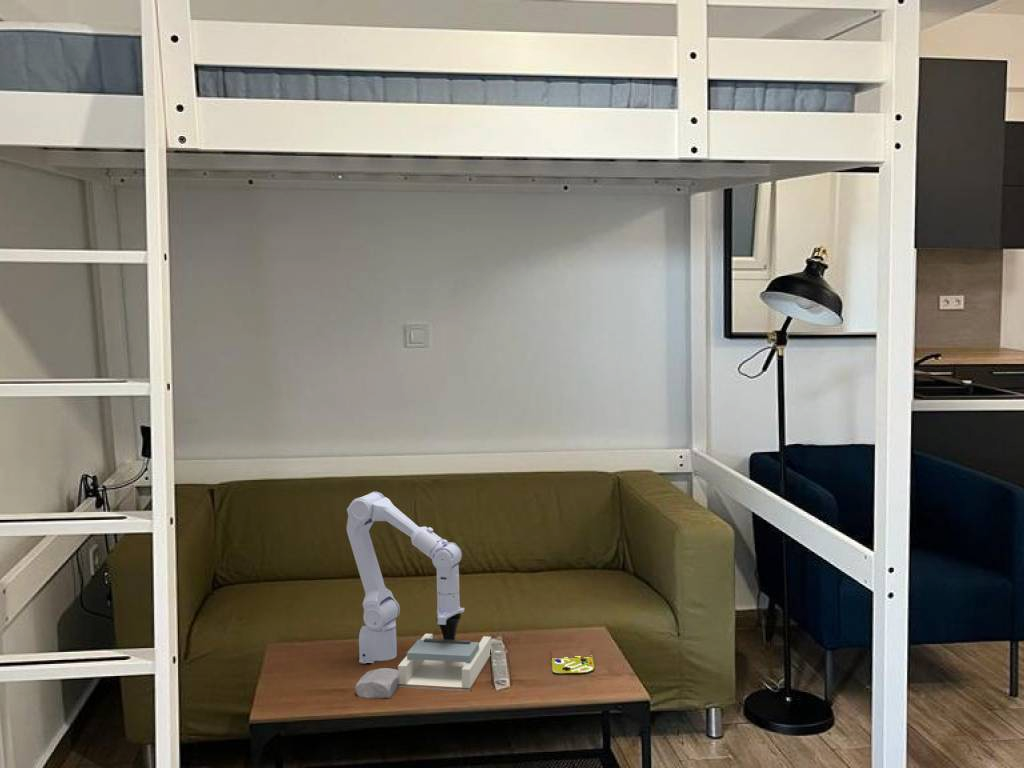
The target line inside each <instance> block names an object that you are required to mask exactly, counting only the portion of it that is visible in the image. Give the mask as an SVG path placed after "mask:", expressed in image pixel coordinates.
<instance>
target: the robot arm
mask: <svg viewBox="0 0 1024 768" xmlns="http://www.w3.org/2000/svg"><path fill="white" fill-rule="evenodd" d="M346 512H347V522H346V533H347V536H348V540H349V543H350V547H351V550H352V553H353V556H354V560H355V563H356V566H357V570H358V573H359V577H360V580H361V584H362V586H363V590H364V594H365V596H364V598H363V602H362V607H363V616H362V617H363V622H364V624H365V625H363V626H361V628H360V631H359V635H358V648H359V649H358V651H359V654H358V655H359V660H358V663H359V662H361V663H360V664H366V663H372V664H374V663H375V661H376V662H385V661H390V660H393V659H395V658H396V657H397V655H398V652H397V651H398V650H397V646H398V645H397V624H396V623H397V621H396V620H397V618H398V617H399V615H400V611H401V608H400V604H399V602H398V601H397V600H396V599H395V597H394V595H393V593H392V590H390V589H388V588H387V587H386V585H385V582H384V578H383V575H382V571H381V568H380V565H379V561H378V557H377V554H376V551H375V548H374V544H373V540H372V538H371V534H370V529H371V527H372V526H373V524H374V523H375V522H387V523H389V524H390V525H391V526H392V527H394V528H396V529H398V530H399V531H400V532H402V533H404V534H405V535H407V536H408V537H409V538H410V541H411V544H412V546H414V547H415V548H417V549H418V550H419V551H420V552H422V553H423V554H424V555H426V556H427V557H428V558H429V559H431V561H432V565H433V566H434V568H435V569H436V600H437V602H436V603H437V604H436V605H437V606H436V607H437V608H436V613H437V617H436V622H437V625H438V626H439V628H440V630H441V633H442V639H451V640H456V635H457V629H458V626H459V622H460V620H461V617H462V613H464V612H465V607H461V605H460V604H461V603H460V571H459V568H460V566H459V565H460V564H459V563H460V561H461V560H462V557H463V552H462V549H461V548H460V547H459V546H458V545H457V543H456V542H449V541H448V540H447V539H445V538H444V539H443V537H441V536H439V535H438V534H436V533H435V532H434V529H433V528H432V527H430V526H429V527H428V526H418V525H417V524H416V523H415V522H414V521H413V520H412V519H410V518H409V517H408V516H407V515H406V514H405V513H403V512H402V511H401V510H400V509H399V508H397V507H396V506H395V505H394V504H393V502H392V501H391V500H390V498H388V497H386V496H384V494H383V493H381V492H378V491H371V492H369V493H368V494H366V495H363V496H361V497H357V498H354V499H353V500H352V501H351V502H350V504H349V506H348V507H347V508H346ZM364 661H365V662H364Z"/></svg>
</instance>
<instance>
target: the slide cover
mask: <svg viewBox="0 0 1024 768" xmlns="http://www.w3.org/2000/svg"><path fill="white" fill-rule="evenodd" d="M479 643H480V641H479V642H477V641H471V640H470V639H469V640H467V639H466V640H465V639H455V640H451V639H444V638H433V639H430V638H425V639H424V640H421V638H420V639H417V640H416V642H415V643H414V644H413V645H412V647H410V649H409V650H408V651H407V652H406V656H407V659H414V660H433V661H452V662H470V661H471V660H472V658H473V657H474V655H475V654H476V652H477V651H478V649H479Z"/></svg>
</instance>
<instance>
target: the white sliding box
mask: <svg viewBox="0 0 1024 768" xmlns="http://www.w3.org/2000/svg"><path fill="white" fill-rule="evenodd" d="M425 638H430V639H434V634H433V633H425V634H424V635H423V636H422V637H421V638H420V639H421V640H424V639H425ZM490 649H491V650H492V636H486V635H483V636H482V638H481V640H480V641H479V649H478V651H477V652H476V654H475V655H474V657H473V658H472V660H471V661H470V662H452V661H433V660H414V659H407V655H406V656H405V657H404V658H403V659H402V660H401V661H400V663H399V664H398V665H397V670H398V679H399V684H398V686H399V687H398V689H399V688H400V689H415V690H432V691H433V690H434V691H448V692H449V691H450V692H451V691H452V692H463V693H464V692H466V693H467V692H469V693H471V691H472V689H471V688H472V686H473V685H474V683H475V681H476V679H477V678H478V676H479V674H481V671H482V669H483V668H484V666H485V665H486V664H487V662H488V661H489V659H490V656H491V655H490ZM429 686H430V687H429ZM432 686H433V687H432ZM447 687H448V688H447ZM463 688H464V689H463Z"/></svg>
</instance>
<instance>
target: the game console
mask: <svg viewBox="0 0 1024 768" xmlns="http://www.w3.org/2000/svg"><path fill="white" fill-rule="evenodd" d="M590 656H592V657H584V658H580V657H581V656H575V657H578V658H568V657H564V658H552V660H551V670H552V671H551V672H552V675H555V676H571V675H572V676H582V674H583V675H589V674H592V673H593V672H594V671H595V663H594V658H593V654H592V655H590ZM591 672H592V673H591Z"/></svg>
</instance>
